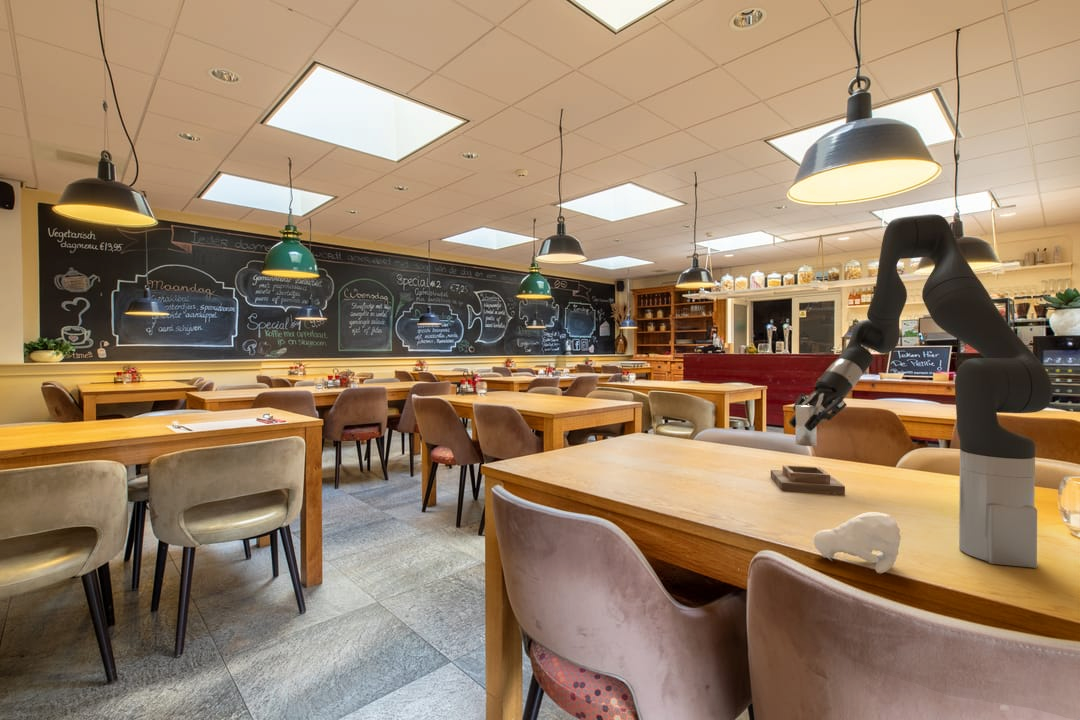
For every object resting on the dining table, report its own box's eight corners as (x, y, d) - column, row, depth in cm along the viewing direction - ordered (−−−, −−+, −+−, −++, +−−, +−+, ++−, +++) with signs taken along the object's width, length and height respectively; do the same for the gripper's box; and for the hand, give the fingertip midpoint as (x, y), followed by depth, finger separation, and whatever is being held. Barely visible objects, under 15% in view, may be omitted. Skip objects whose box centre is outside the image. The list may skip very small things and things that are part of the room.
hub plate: (844, 494, 118) (845, 478, 118) (781, 490, 122) (781, 474, 122) (827, 480, 131) (827, 465, 131) (770, 477, 135) (770, 462, 135)
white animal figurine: (901, 520, 73) (810, 515, 79) (907, 577, 73) (815, 568, 79) (895, 509, 79) (810, 504, 85) (901, 562, 79) (816, 554, 85)
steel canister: (818, 446, 124) (819, 407, 123) (798, 445, 125) (798, 406, 125) (813, 443, 128) (813, 405, 128) (793, 442, 129) (793, 404, 129)
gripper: (809, 369, 135) (771, 413, 132) (853, 370, 121) (812, 420, 118) (825, 387, 136) (788, 432, 134) (871, 391, 122) (830, 441, 120)
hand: (799, 426), depth 126 cm, fingers closed on steel canister, 4 cm apart
